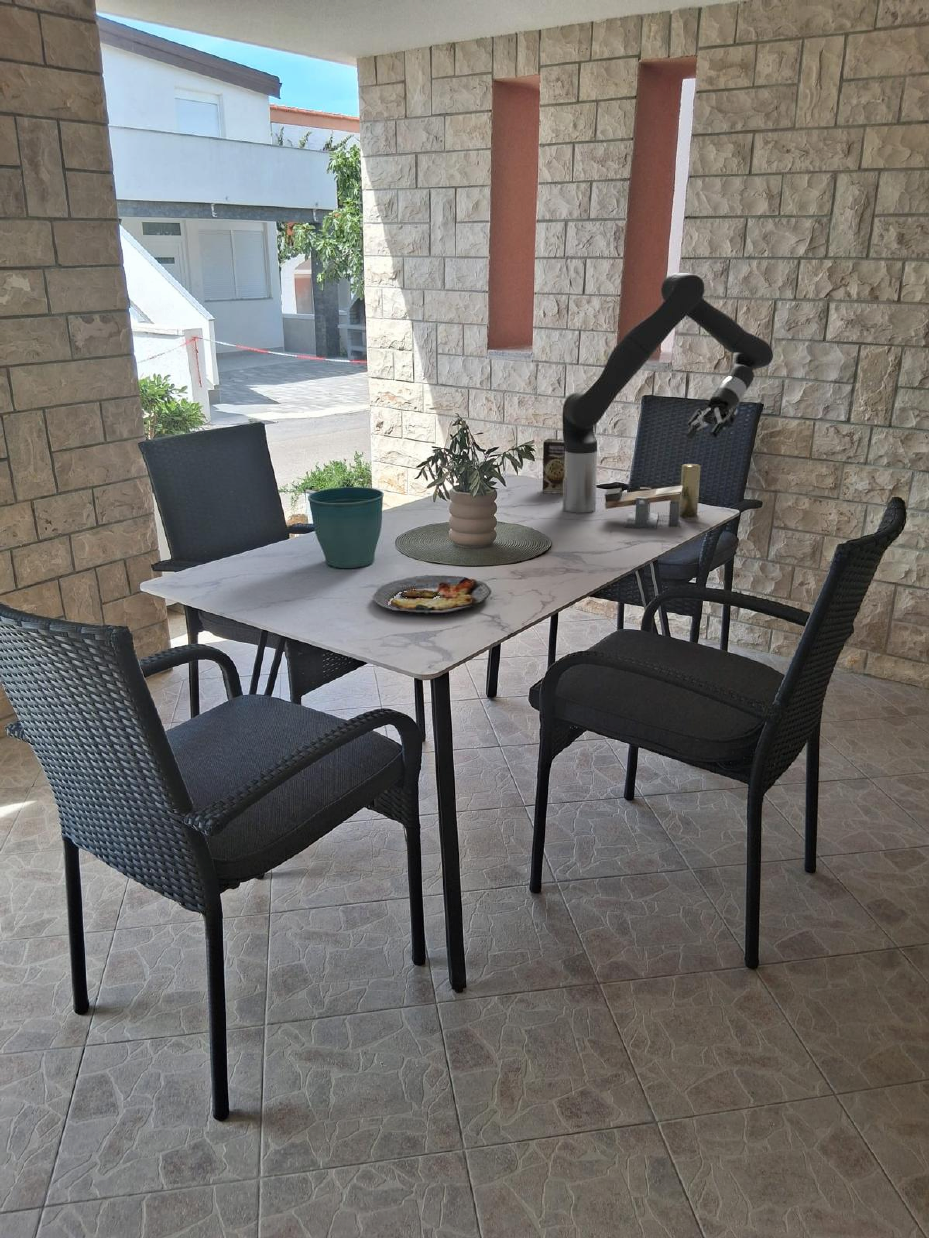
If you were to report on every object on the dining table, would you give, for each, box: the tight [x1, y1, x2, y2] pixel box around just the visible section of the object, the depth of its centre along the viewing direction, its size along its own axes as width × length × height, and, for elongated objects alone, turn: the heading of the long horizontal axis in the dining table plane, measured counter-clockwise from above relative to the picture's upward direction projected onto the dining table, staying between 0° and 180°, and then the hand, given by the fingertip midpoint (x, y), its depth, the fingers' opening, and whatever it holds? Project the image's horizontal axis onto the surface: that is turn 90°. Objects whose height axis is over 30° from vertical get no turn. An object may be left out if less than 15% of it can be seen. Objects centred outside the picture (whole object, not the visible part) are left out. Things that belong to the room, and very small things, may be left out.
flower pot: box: [307, 486, 384, 569], centre depth 227 cm, size 18×18×17 cm
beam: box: [604, 484, 683, 510], centre depth 256 cm, size 20×10×4 cm, turn 75°
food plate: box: [372, 574, 492, 614], centre depth 202 cm, size 25×23×4 cm
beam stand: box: [625, 487, 680, 530], centre depth 257 cm, size 14×14×8 cm
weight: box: [679, 463, 701, 518], centre depth 262 cm, size 5×5×14 cm
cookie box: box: [542, 438, 565, 494], centre depth 293 cm, size 9×6×16 cm
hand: (700, 436), depth 261 cm, fingers open, 8 cm apart
